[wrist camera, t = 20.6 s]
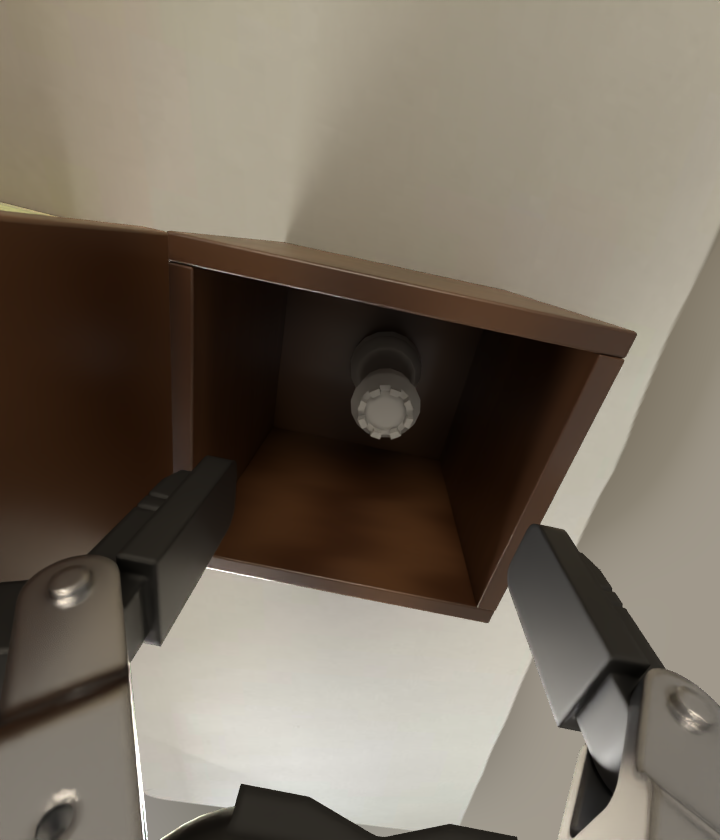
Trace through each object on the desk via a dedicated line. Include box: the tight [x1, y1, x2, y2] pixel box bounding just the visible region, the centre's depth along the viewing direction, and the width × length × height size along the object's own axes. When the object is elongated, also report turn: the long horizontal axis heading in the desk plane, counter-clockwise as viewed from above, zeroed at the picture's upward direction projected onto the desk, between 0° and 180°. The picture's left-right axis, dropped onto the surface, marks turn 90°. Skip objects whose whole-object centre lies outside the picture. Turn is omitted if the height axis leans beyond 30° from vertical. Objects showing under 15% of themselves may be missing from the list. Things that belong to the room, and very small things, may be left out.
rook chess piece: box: [351, 332, 421, 439], centre depth 20 cm, size 4×4×8 cm
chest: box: [167, 231, 637, 623], centre depth 19 cm, size 14×13×13 cm
